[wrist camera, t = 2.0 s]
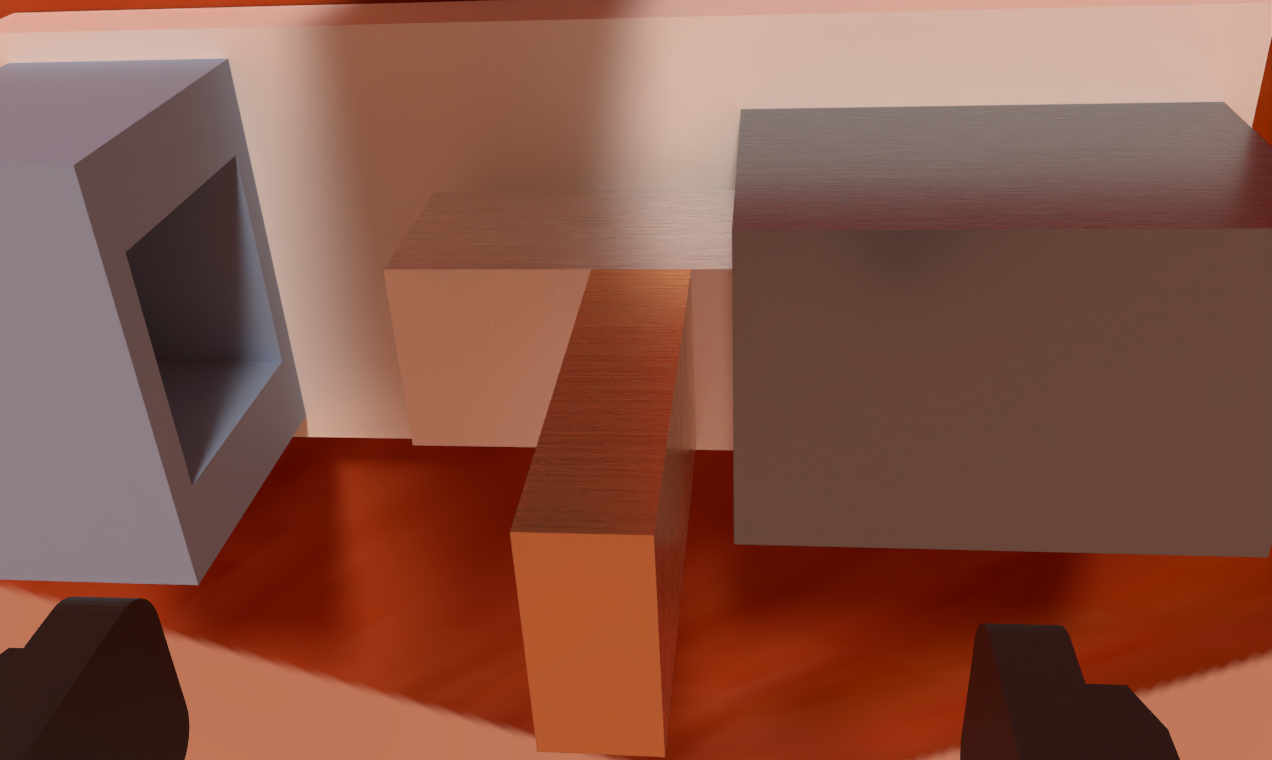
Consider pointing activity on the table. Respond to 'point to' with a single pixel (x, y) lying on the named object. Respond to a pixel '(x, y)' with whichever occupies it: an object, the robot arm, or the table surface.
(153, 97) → the socket block
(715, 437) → the inner bar
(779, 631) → the table surface
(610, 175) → the base board
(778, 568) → the table surface
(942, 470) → the grey rectangular block
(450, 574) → the table surface
